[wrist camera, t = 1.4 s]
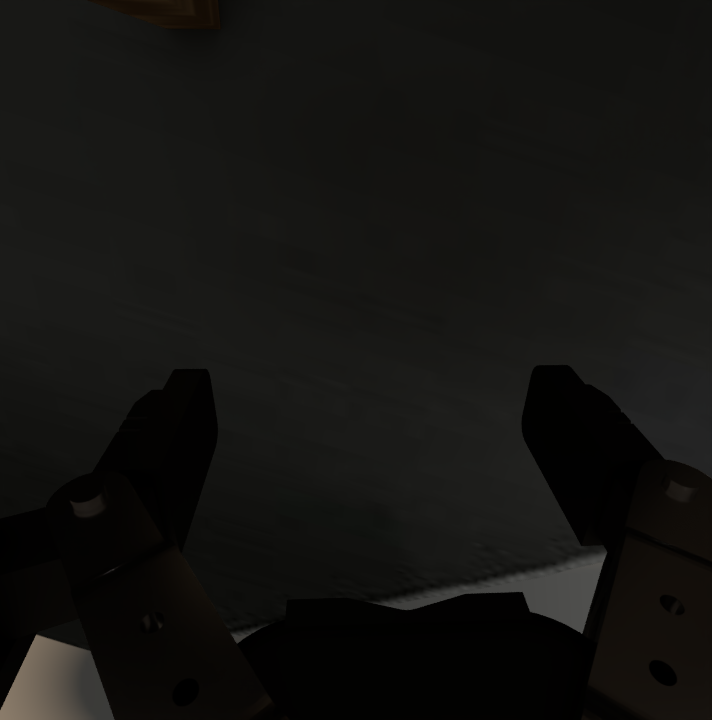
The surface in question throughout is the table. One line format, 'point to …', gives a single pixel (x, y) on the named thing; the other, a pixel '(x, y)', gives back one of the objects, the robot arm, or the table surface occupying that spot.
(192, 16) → the tall brown wooden block
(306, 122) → the table surface
